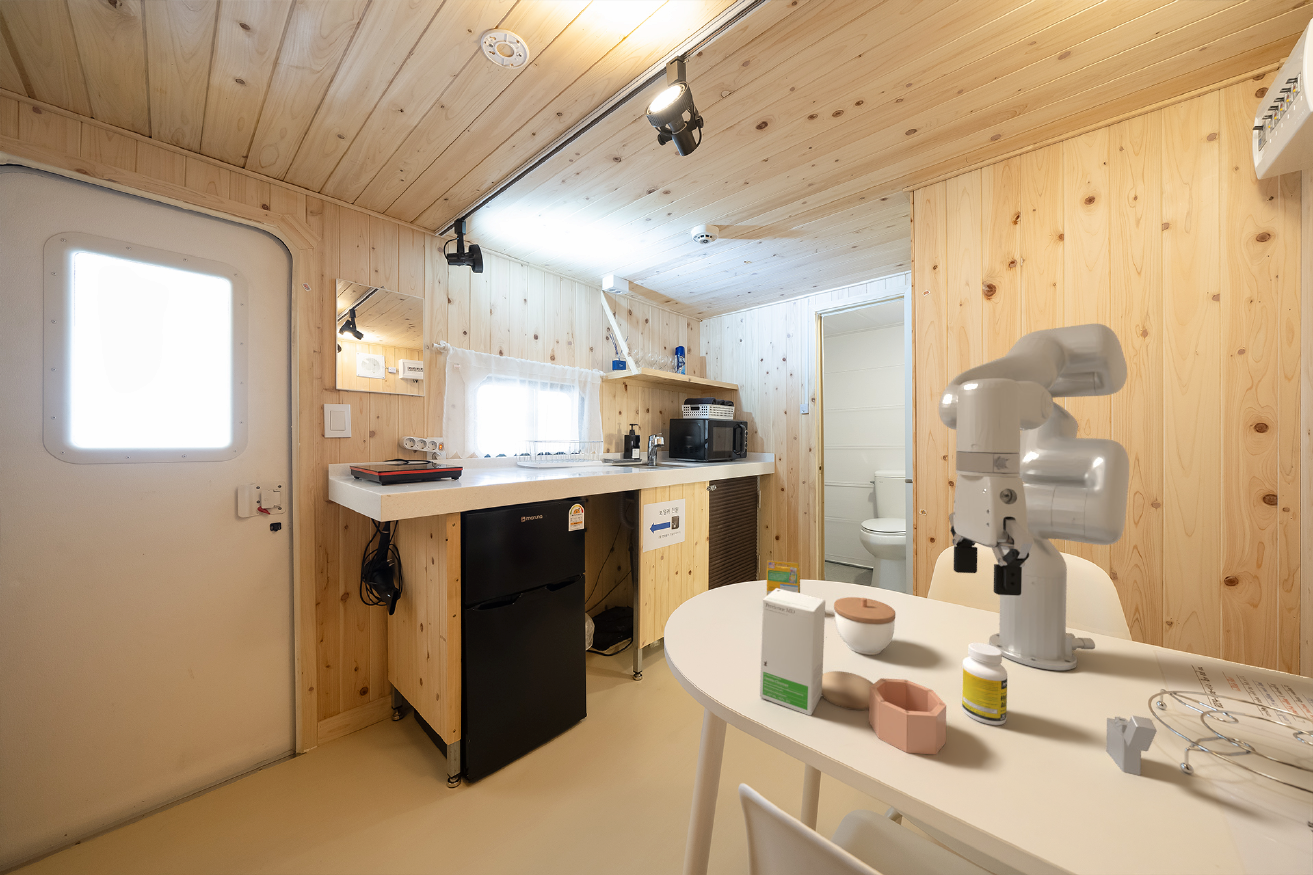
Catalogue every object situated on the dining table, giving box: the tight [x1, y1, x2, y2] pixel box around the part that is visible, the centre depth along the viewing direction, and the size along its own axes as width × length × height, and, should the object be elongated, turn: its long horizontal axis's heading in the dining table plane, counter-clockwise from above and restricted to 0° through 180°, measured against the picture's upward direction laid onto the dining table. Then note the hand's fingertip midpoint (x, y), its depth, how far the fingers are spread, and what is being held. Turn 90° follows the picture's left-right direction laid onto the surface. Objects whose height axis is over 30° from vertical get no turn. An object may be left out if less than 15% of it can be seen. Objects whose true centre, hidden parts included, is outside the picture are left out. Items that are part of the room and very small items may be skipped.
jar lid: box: [821, 670, 874, 711], centre depth 73 cm, size 9×9×1 cm
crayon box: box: [766, 559, 801, 596], centre depth 106 cm, size 7×3×12 cm, turn 69°
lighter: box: [1105, 715, 1158, 777], centre depth 56 cm, size 7×2×8 cm, turn 156°
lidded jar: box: [833, 596, 896, 656], centre depth 88 cm, size 11×11×9 cm
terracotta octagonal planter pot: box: [868, 677, 947, 756], centre depth 63 cm, size 9×9×5 cm
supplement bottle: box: [960, 642, 1008, 726], centre depth 67 cm, size 5×5×10 cm
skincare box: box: [759, 588, 826, 716], centre depth 71 cm, size 8×7×16 cm
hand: (984, 582), depth 67 cm, fingers open, 9 cm apart
